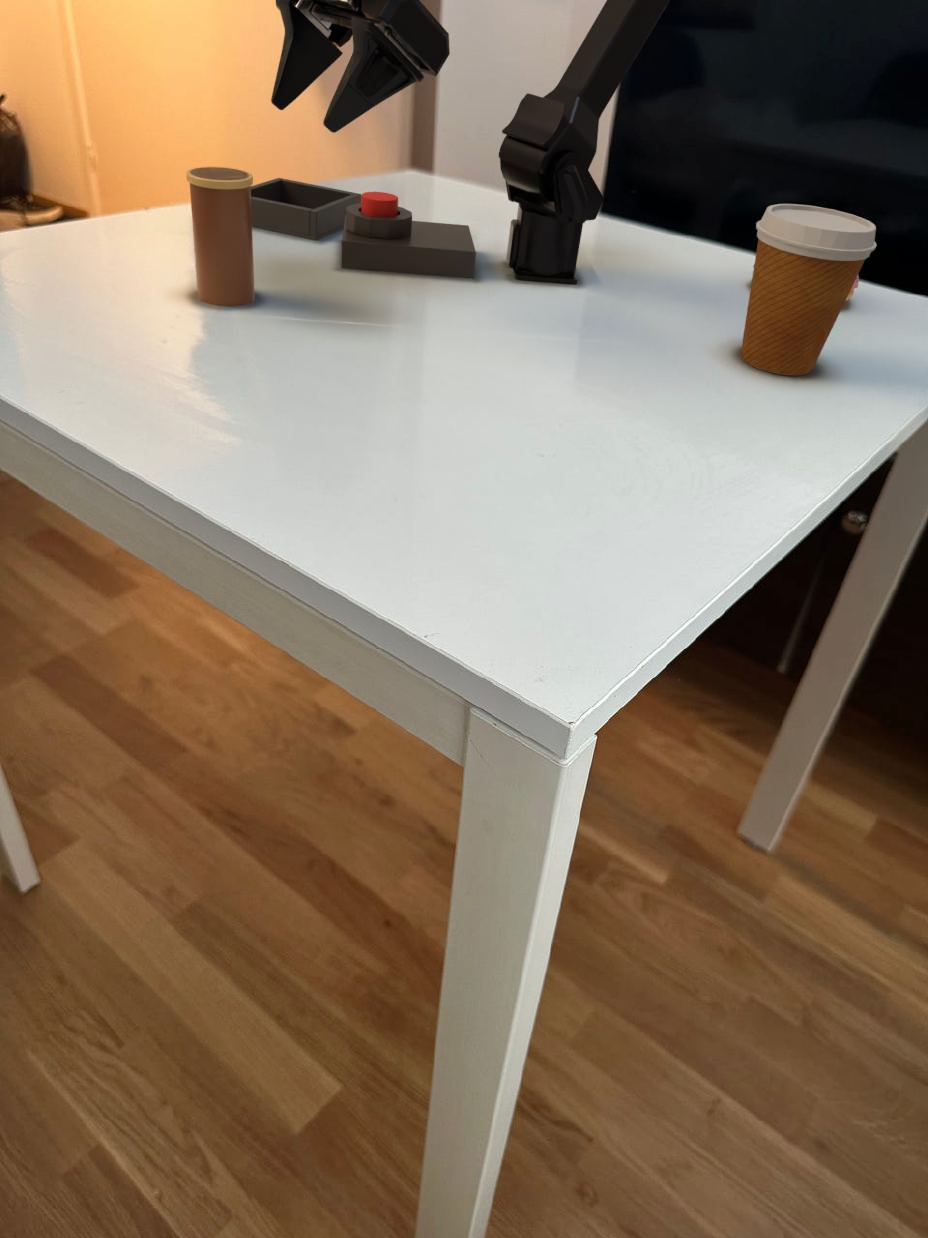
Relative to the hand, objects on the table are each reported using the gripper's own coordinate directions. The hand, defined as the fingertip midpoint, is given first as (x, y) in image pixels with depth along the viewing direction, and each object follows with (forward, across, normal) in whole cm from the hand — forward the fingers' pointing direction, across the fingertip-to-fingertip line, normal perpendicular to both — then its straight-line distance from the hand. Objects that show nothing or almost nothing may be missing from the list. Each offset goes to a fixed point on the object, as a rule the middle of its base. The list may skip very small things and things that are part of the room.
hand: (301, 117), depth 73 cm
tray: (+5, -24, +17) cm, 30 cm away
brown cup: (+15, -2, +3) cm, 16 cm away
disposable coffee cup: (-7, +27, +35) cm, 45 cm away
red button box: (+3, -8, +21) cm, 23 cm away
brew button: (+1, -9, +17) cm, 19 cm away
